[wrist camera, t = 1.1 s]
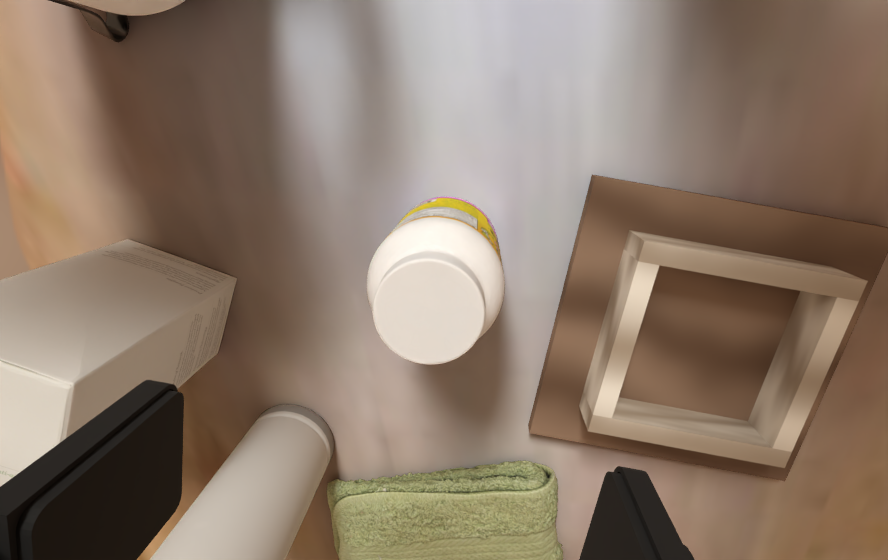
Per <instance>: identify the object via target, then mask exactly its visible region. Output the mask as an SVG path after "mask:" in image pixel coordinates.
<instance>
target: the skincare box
mask: <svg viewBox="0 0 888 560" xmlns="http://www.w3.org/2000/svg"><path fill="white" fill-rule="evenodd" d="M236 282H237V278H235V277H233V276H230V275H227V274H224V273H222V272H219V271H216V270H213V269H211V268H208V267H205V266H202V265H200V264H197V263H194V262H191V261H188V260H186V259H183V258H180V257H177V256H175V255H172V254H169V253H166V252H163V251H161V250H158V249H155V248H152V247H149V246H146V245H144V244H141V243H138V242H135V241H132V240H129V239H126V240H123V241H120V242H117V243H114V244H111V245H108V246H105V247H102V248H99V249H96V250H93V251H90V252H87V253H83V254H80V255H77V256H74V257H71V258H68V259H65V260H62V261H58V262H55V263H52V264H49V265H46V266H43V267H40V268H36V269H33V270H30V271H27V272H24V273H21V274H18V275H14V276H11V277H8V278H5V279H2V280H0V486H2V485H3V484H5V483H6V482H7V481H9V480H10V479H11V478H13V477H14V476H16V475H17V474H18V473H20V472H21V471H22V470H24V469H25V468H26V467H28V466H29V465H30V464H32V463H33V462H35V461H36V460H37V459H39V458H40V457H41V456H43V455H44V454H45V453H47V452H48V451H49V450H51V449H52V448H54V447H55V446H56V445H58V444H59V443H60V442H62V441H63V440H64V439H66V438H67V437H68V436H70V435H71V434H73V433H74V432H75V431H77V430H78V429H79V428H81V427H82V426H83V425H85V424H86V423H87V422H89V421H90V420H92V419H93V418H94V417H96V416H97V415H98V414H100V413H101V412H102V411H104V410H105V409H106V408H108V407H109V406H111V405H112V404H113V403H115V402H116V401H117V400H119V399H120V398H121V397H123V396H124V395H125V394H127V393H128V392H130V391H131V390H132V389H134V388H135V387H136V386H138V385H139V384H140V383H142V382H143V381H145V380H154V381H159V382H164V383H170V384H174V385H175V386H176V387H177V389H178V388H179V387H180V386H181V385H183V384H184V383H185V382H186V381H187V380H188V379H189V378H190V377H192V376H193V375H194V374H195V373H196V372H197V371H198V370H199V369H200V368H202V367H203V366H204V365H205V364H206V363H207V362H208V361H209V360H211V359H212V358H213V357H214V356H215V355H217V354H218V351H219V348H220V344H221V340H222V336H223V332H224V328H225V324H226V320H227V316H228V312H229V308H230V304H231V300H232V296H233V292H234V289H235V285H236Z"/></svg>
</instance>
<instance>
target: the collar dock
mask: <svg viewBox="0 0 888 560" xmlns="http://www.w3.org/2000/svg"><path fill="white" fill-rule="evenodd" d="M887 253H888V228H887V227H883V226H877V225H871V224H866V223H860V222H855V221H849V220H843V219H838V218H832V217H827V216H821V215H815V214H810V213H804V212H799V211H793V210H787V209H782V208H776V207H771V206H765V205H759V204H754V203H748V202H743V201H737V200H731V199H726V198H720V197H715V196H709V195H703V194H698V193H692V192H687V191H681V190H675V189H670V188H664V187H659V186H653V185H647V184H642V183H636V182H631V181H625V180H619V179H614V178H608V177H603V176H597V175H592V177H591V181H590V185H589V189H588V193H587V196H586V200H585V204H584V208H583V212H582V216H581V220H580V224H579V228H578V232H577V236H576V240H575V244H574V248H573V252H572V256H571V259H570V263H569V267H568V271H567V275H566V279H565V283H564V287H563V291H562V295H561V299H560V303H559V307H558V311H557V315H556V319H555V322H554V326H553V330H552V334H551V338H550V342H549V346H548V350H547V354H546V358H545V362H544V366H543V370H542V374H541V378H540V382H539V385H538V389H537V393H536V397H535V401H534V405H533V409H532V413H531V417H530V421H529V432H530V433H532V434H537V435H542V436H548V437H553V438H558V439H564V440H569V441H574V442H580V443H585V444H590V445H596V446H601V447H606V448H612V449H617V450H622V451H628V452H633V453H638V454H644V455H649V456H654V457H660V458H665V459H670V460H676V461H681V462H686V463H692V464H697V465H702V466H708V467H713V468H718V469H724V470H729V471H734V472H740V473H745V474H750V475H756V476H761V477H766V478H772V479H777V480H782V481H785V480H786V478H787V476H788V473H789V471H790V469H791V467H792V465H793V462H794V460H795V458H796V456H797V453H798V451H799V449H800V447H801V444H802V442H803V440H804V438H805V436H806V433H807V431H808V429H809V427H810V424H811V422H812V420H813V418H814V416H815V413H816V411H817V409H818V407H819V404H820V402H821V400H822V398H823V395H824V393H825V391H826V389H827V387H828V384H829V382H830V380H831V378H832V375H833V373H834V371H835V369H836V367H837V364H838V362H839V360H840V358H841V355H842V353H843V351H844V349H845V347H846V344H847V342H848V340H849V338H850V335H851V333H852V331H853V329H854V326H855V324H856V322H857V320H858V318H859V315H860V313H861V311H862V309H863V306H864V304H865V302H866V300H867V298H868V295H869V293H870V291H871V289H872V286H873V284H874V282H875V280H876V278H877V275H878V273H879V271H880V269H881V266H882V264H883V262H884V260H885V257H886V255H887Z"/></svg>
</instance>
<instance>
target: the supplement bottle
mask: <svg viewBox="0 0 888 560" xmlns="http://www.w3.org/2000/svg"><path fill="white" fill-rule="evenodd" d="M504 290H505V282H504V273H503V268H502V262H501V256H500V249H499V244H498V239H497V235H496V232H495V229H494V227H493V225H492V223H491V221H490V220H489V218H488V217H487V216H486V214H485V213H484V212H483V211H482V210H481V209H479V208H478V207H477V206H476V205H474V204H472V203H471V202H469V201H466V200H464V199H460V198H456V197H447V196H443V197H435V198H431V199H428V200H426V201H424V202H422V203H420V204H418V205H417V206H415V207H414V208H413V209H411V210H410V211H409V212H408V213H407V214H406V215H405V216H404V218H403V219H402V220H401V221H400V222H399V224H398V225H397V226H396V227H395V228H394V230H393V231H392V232H391V233H390V234H389V235H388V236H387V237H386V238H385V240H384V241H383V242H382V243H381V245H380V246H379V247H378V249H377V251H376V252H375V254H374V256H373V258H372V261H371V263H370V266H369V270H368V275H367V295H368V300H369V304H370V306H371V309H372V311H373V319H374V323H375V327H376V330H377V332H378V334H379V336H380V337H381V339H382V340H383V342H384V343H385V344H386V345H387V346H388V347H389V348H390V349H391V350H392V351H393V352H394V353H396V354H397V355H399V356H400V357H402V358H404V359H406V360H408V361H411V362H414V363H418V364H427V365H433V364H442V363H446V362H450V361H452V360H455V359H457V358H459V357H460V356H462V355H463V354H465V353H466V352H467V351H468V350H469V349H470V348H471V347H472V346H473V345H474V344H475V342H476V341H477V339H479V338H480V337H481V336H482V335H484V334H485V333H486V332H487V331H488V329H489V328H490V327H491V326H492V324H493V323H494V321H495V319H496V318H497V316H498V314H499V312H500V309H501V306H502V303H503V298H504Z"/></svg>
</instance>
